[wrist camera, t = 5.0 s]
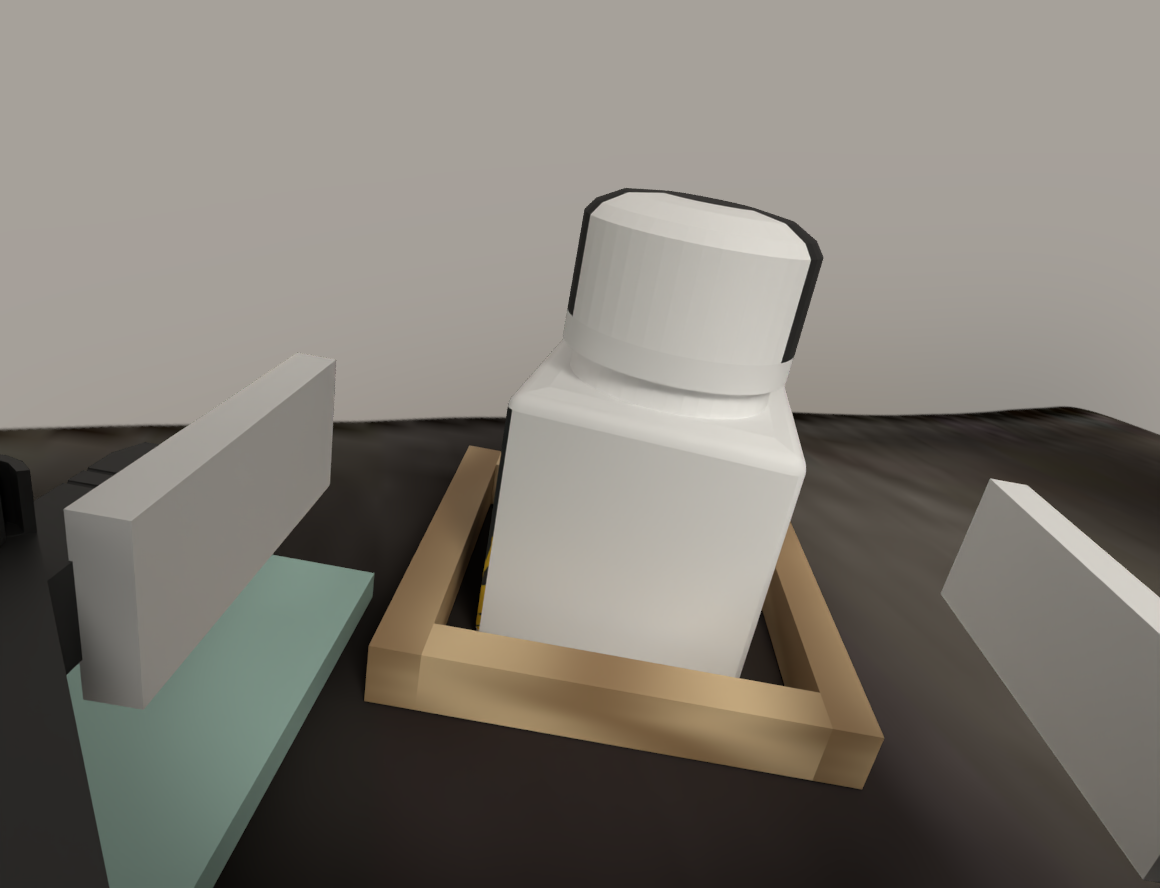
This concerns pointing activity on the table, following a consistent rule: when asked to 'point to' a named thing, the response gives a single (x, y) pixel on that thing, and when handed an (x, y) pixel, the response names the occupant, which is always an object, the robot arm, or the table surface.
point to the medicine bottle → (656, 438)
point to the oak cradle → (623, 668)
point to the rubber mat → (215, 726)
